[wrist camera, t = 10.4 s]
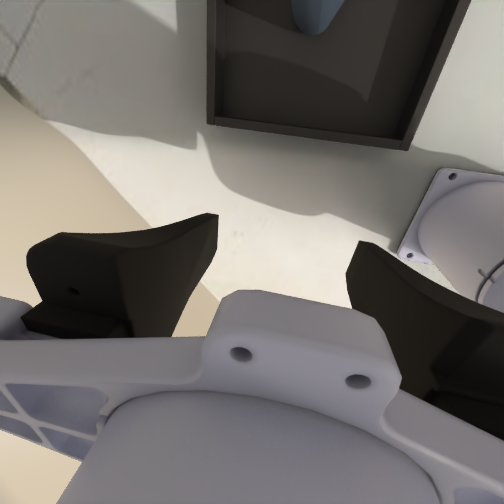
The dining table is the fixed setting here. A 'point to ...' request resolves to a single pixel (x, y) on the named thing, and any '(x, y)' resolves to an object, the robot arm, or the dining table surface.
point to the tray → (328, 68)
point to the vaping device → (314, 14)
